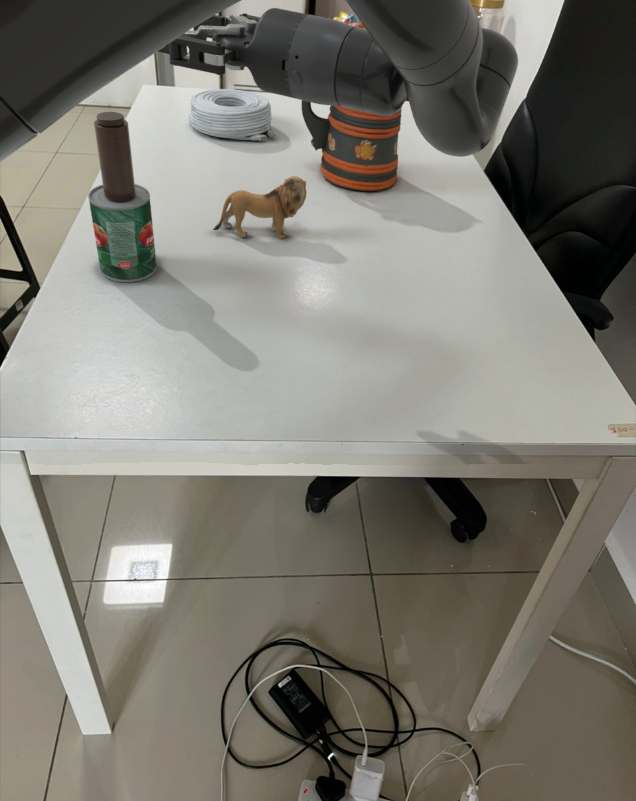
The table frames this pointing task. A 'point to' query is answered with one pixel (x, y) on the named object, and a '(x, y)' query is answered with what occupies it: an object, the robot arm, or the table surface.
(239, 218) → the lion figurine
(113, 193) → the pepper mill
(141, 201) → the canned tomato
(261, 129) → the cable
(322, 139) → the beer stein
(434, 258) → the table surface
